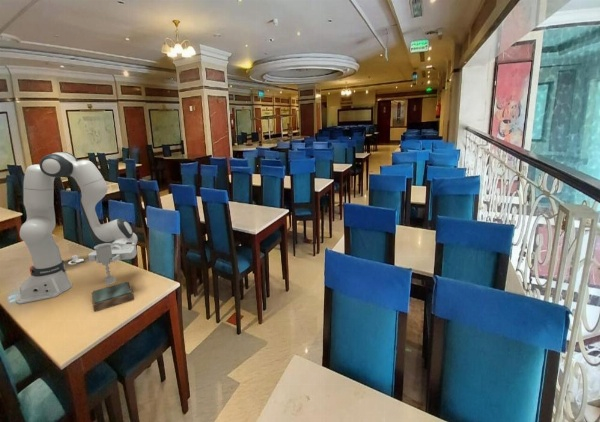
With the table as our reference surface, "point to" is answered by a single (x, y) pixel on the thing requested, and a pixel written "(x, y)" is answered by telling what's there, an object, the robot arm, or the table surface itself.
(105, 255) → the chalice
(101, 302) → the plinth
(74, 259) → the teacup and saucer
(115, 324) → the table surface
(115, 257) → the robot arm
